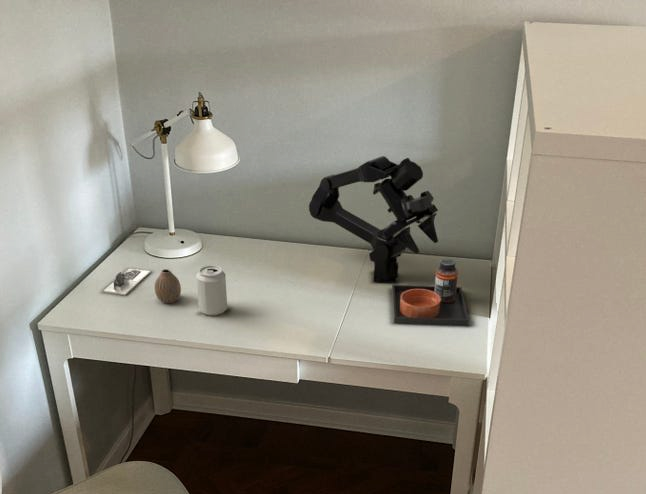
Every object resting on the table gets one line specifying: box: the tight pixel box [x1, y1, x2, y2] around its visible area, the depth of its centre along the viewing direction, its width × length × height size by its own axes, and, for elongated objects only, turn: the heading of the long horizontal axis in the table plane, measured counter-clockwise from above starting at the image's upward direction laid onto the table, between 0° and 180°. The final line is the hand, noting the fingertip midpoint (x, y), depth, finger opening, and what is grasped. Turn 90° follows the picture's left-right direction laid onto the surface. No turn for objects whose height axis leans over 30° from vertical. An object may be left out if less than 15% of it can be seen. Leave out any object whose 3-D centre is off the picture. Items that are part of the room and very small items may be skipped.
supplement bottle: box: [434, 258, 459, 303], centre depth 216 cm, size 6×6×11 cm
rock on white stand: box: [103, 268, 151, 296], centre depth 223 cm, size 15×7×4 cm, turn 165°
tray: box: [391, 284, 470, 327], centre depth 215 cm, size 19×19×2 cm
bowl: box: [400, 289, 441, 318], centre depth 212 cm, size 11×11×4 cm
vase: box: [154, 268, 182, 304], centre depth 213 cm, size 7×7×9 cm
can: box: [196, 264, 228, 317], centre depth 208 cm, size 8×8×12 cm
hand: (427, 247), depth 215 cm, fingers open, 9 cm apart
